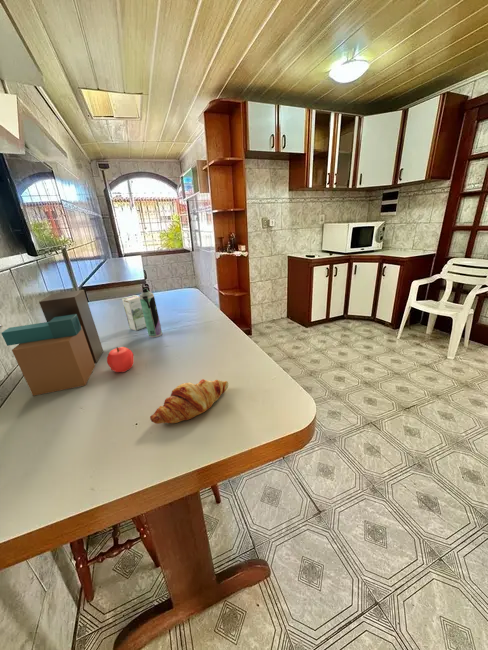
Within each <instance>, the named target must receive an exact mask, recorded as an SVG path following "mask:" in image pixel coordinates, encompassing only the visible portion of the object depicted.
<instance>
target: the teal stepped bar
mask: <svg viewBox="0 0 488 650" xmlns="http://www.w3.org/2000/svg"><path fill="white" fill-rule="evenodd" d="M81 329H82V328H81V325H80V322H79V319H78V317H77V314H73V315H66V316H59V317H54V318H53V319H52V320H51V321H49V322H47V321H45V322H39V323H32V324H31V323H30V324H25V325H24V324H23V325H19V326H12V327H8V328H6V329H5V330H3V331H2V332H0V335H1V336H2V338H3V340H4V343H5V344H6V347H7V346H8V347H9V346H14V345H16V346H17V345H19V344H22V343H28V342H34V341H40V340H46V339H53V338H54V339H56V338H62V337H69V336H75V335H77V334H78V333H79V332H80V331H81Z"/></svg>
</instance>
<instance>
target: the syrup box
mask: <svg viewBox="0 0 488 650" xmlns="http://www.w3.org/2000/svg"><path fill="white" fill-rule="evenodd" d="M121 300H122V304H123V308H124V312H125V317H126V320H127V324H128V328H129V329H130V330H131V331H136V332H137V331H139V330H142V329H145V328H147V327H146V323H145V318H144V314H143V310H142V306H141V302H140V296H139V295H135V294H134V295H130V296H127V297H123V298H121Z"/></svg>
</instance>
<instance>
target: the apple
mask: <svg viewBox="0 0 488 650" xmlns="http://www.w3.org/2000/svg"><path fill="white" fill-rule="evenodd" d="M134 359H135V358H134V353H133V351H132V350H131V349H130V348H128V347H125V346H120V347H118V346H116V348H113V349H111V350H110V351H109V352H108V354H107V357H106V364H107V365H108V366H109V368H110V369H111V371H113V372H115V373H126V372H127V371H129V370H130V369H131V368H133V366H134V364H135V361H134Z"/></svg>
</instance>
